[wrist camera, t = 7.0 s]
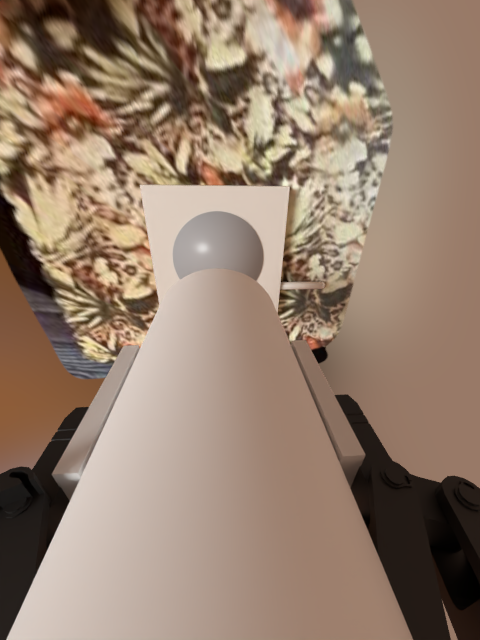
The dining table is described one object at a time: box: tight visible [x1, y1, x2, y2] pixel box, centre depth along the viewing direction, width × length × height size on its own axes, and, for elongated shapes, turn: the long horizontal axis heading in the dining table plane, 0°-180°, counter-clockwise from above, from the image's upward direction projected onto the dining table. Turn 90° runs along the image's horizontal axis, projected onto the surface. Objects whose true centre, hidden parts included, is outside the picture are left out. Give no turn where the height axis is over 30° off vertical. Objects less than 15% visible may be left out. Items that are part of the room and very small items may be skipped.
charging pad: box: [140, 185, 325, 314], centre depth 32 cm, size 16×22×2 cm
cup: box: [6, 268, 413, 640], centre depth 11 cm, size 8×8×16 cm
